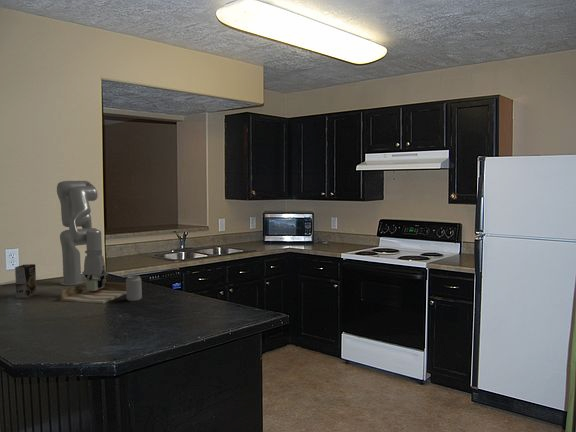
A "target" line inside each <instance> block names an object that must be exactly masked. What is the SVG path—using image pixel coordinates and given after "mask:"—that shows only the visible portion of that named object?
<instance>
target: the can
mask: <svg viewBox="0 0 576 432" xmlns="http://www.w3.org/2000/svg"><path fill="white" fill-rule="evenodd" d="M125 283H126V294H125V295H126V297H125V298H126V300H127V301H128V302H138V301H141V299H142V298H143V292H142V289H143V288H142V285H143V284H142V277H141V276H140V275H128V276H127V277H126V279H125Z"/></svg>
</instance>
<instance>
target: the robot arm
mask: <svg viewBox="0 0 576 432" xmlns="http://www.w3.org/2000/svg"><path fill="white" fill-rule="evenodd" d="M98 194H99V193H98V190H97V188H96V187H95V186H94V185H93V184H92V183H91V182H89V181H88V180H62V181H60V182H58V183H57V185H56V195H57V197H58V199H59V203H60V211H61V212H60V215H61V222H62V226H63V227H66V228H68V229H66V230H63V231H61V233H59V234H60V235H59V239H60V241H59V242H60V245H61V254H62V255H61V256H62V278H63V279H62V281H60V285H61V286H69V287H70V286H77V285H80V284H83V283H85V280H84V278H86V281H87V280H90V279H93V277H94V276H97V277H98V279H99V281H98V288H101V287H103V279H104V278H106V277H107V276H108V275H109V273H108V272H107V270H106V264H105V263H106V262H105V257H104V255H103V249H102V248H103V247H102V245H103V244H102V240H103V239H102V231H101V230H100V229H97V228H95V227H93V225H92V216H91V210H92V209H91V205H90V203H89V202H93V201H94V202H95V201H96V200H97V199H98V196H99V195H98ZM78 227H79V228H78ZM80 227H81V228H80ZM85 245H86V250H85V251H84V253H85V254H86V255H85V257H84V262H83V271H82V270H81V269H82V267H81V265H82V263H81V252H80V251H79V249H78V248H77V247H76V246H85Z"/></svg>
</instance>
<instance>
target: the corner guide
mask: <svg viewBox="0 0 576 432" xmlns="http://www.w3.org/2000/svg"><path fill="white" fill-rule="evenodd" d="M59 295H60V301H61V302H69V303H70V302H72V303H73V302H74V303H87V304H89V303H90V304H106V303H107V302H110V301H112V300H115V299H117V298H120V297H122V296H124V295H126V282H110V281H108V282H105V287H104V288H101V289H98V290H96V291H88V290H86V282H84V283H82V284H79V285H73V286H72V287H69V288H66V289H62V290H60V294H59Z"/></svg>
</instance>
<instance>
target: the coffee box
mask: <svg viewBox="0 0 576 432" xmlns="http://www.w3.org/2000/svg"><path fill="white" fill-rule="evenodd" d="M14 268H15V269H14V271H15V274H14V275H15V297H16V298H17V299H19V298H20V299H22V298H23V299H24V298H25V299H28V298H30V297H31V298H32V296H33V297H34V296H35V295H37V294H38V293H37V272H36V271H37V269H36V264H34V263H33V264H30V263H28V264H22V265H18V266H16V267H14Z"/></svg>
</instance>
